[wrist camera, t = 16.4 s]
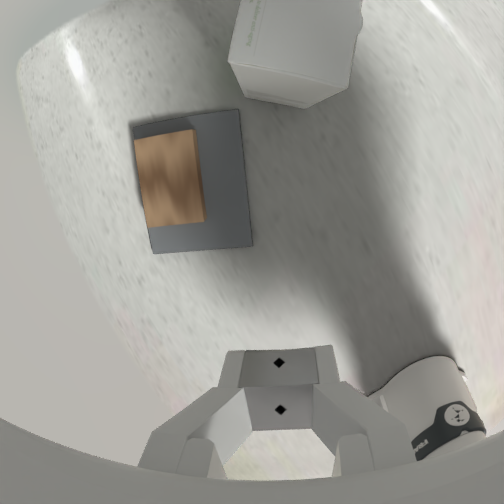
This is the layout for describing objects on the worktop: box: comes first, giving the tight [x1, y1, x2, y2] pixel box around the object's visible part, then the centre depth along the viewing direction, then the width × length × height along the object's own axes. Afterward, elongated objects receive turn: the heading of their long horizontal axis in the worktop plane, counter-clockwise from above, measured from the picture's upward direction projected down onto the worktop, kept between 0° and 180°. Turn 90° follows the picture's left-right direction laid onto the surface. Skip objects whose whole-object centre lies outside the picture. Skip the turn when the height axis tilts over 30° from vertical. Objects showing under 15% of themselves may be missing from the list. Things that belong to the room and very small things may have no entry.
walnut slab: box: [134, 129, 207, 228], centre depth 29 cm, size 9×2×6 cm
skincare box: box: [228, 0, 363, 109], centre depth 18 cm, size 8×7×16 cm
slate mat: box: [133, 109, 253, 254], centre depth 30 cm, size 14×11×1 cm
